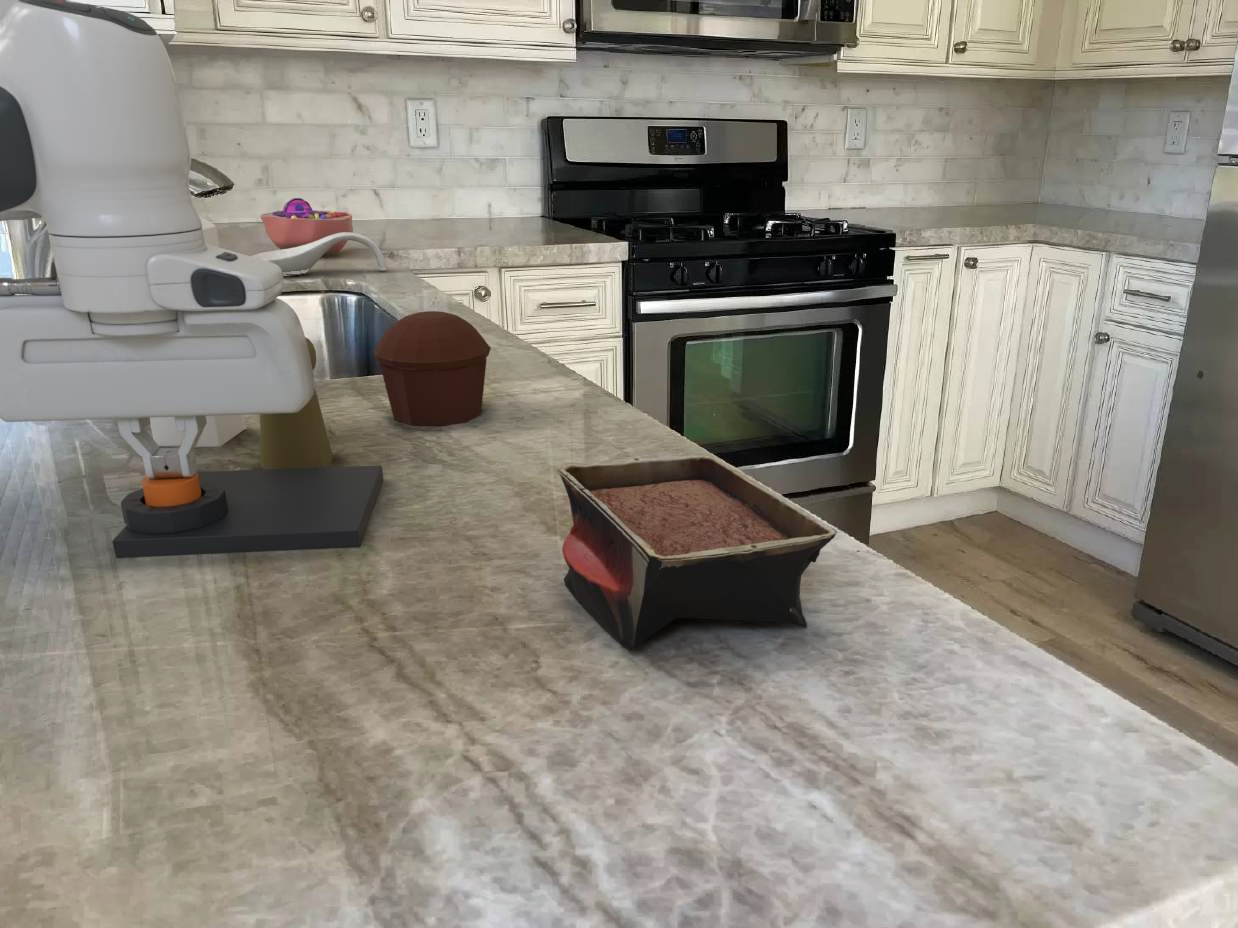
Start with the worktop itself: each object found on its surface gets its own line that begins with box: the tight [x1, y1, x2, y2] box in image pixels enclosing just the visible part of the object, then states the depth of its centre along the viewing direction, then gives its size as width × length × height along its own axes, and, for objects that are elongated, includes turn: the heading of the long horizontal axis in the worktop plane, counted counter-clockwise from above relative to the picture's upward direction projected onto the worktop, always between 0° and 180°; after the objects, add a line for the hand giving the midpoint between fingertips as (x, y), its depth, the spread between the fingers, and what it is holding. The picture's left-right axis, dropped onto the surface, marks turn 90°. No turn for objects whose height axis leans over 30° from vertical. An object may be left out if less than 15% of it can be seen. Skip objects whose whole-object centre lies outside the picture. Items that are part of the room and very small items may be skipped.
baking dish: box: [557, 454, 838, 652], centre depth 62 cm, size 14×18×10 cm
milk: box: [149, 215, 247, 448], centre depth 90 cm, size 6×6×22 cm
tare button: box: [141, 471, 202, 507], centre depth 71 cm, size 4×4×2 cm
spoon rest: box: [250, 232, 387, 276], centre depth 188 cm, size 24×12×7 cm, turn 111°
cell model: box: [259, 197, 354, 256], centre depth 210 cm, size 17×20×11 cm
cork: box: [259, 336, 334, 469], centre depth 86 cm, size 6×6×11 cm
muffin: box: [372, 310, 492, 427], centre depth 101 cm, size 12×11×10 cm
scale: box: [111, 465, 384, 559], centre depth 76 cm, size 16×14×3 cm
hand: (172, 475), depth 71 cm, fingers closed
